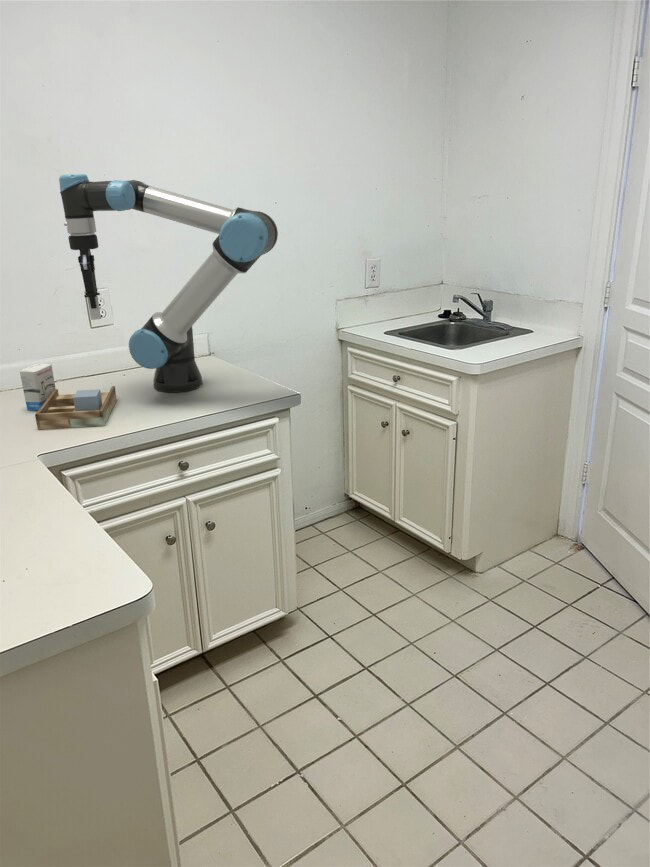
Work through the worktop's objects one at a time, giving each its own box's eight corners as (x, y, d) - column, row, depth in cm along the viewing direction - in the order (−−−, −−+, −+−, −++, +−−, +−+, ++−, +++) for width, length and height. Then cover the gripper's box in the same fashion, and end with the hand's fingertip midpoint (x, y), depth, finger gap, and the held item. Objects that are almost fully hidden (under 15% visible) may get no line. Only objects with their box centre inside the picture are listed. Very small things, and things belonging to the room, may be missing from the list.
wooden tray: (116, 399, 192) (114, 386, 190) (104, 425, 172) (102, 410, 170) (57, 402, 190) (54, 389, 188) (37, 429, 169) (34, 414, 168)
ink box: (41, 411, 183) (34, 371, 178) (26, 410, 184) (18, 370, 179) (59, 401, 190) (52, 363, 186) (44, 400, 191) (37, 362, 187)
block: (102, 406, 179) (100, 389, 177) (99, 413, 174) (96, 396, 172) (80, 407, 178) (77, 390, 176) (76, 415, 173) (73, 397, 171)
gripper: (70, 233, 183) (84, 315, 191) (65, 236, 171) (80, 324, 180) (98, 232, 184) (110, 313, 193) (94, 235, 173) (108, 322, 181)
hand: (96, 318), depth 186 cm, fingers closed
